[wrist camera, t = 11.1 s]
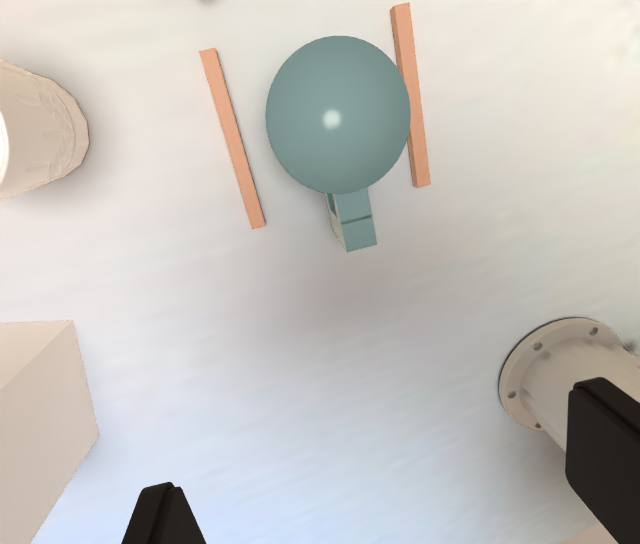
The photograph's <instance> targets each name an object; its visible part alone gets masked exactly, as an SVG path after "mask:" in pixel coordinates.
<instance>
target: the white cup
mask: <svg viewBox="0 0 640 544" xmlns="http://www.w3.org/2000/svg"><path fill="white" fill-rule="evenodd" d="M88 147H89V137H88V127H87V121H86V119H85V117H84V115H83V113H82V112H81V110H80V108H79V106H78V105H77V103H76V101H75V99H74V98H73V97H72V96H71V95H69V94H68V93H67V92H66V91H65V90H63V89H62V88H61V87H60V86H59V85H57V84H56V83H55V82H54V81H53V80H50V79H47V78H44V77H41V76H38V75H35V74H32V73H30V72H28V71H26V70H24V69H22V68H20V67H19V66H16V65H13V64H10V63H8V62H6V61H3V60H0V201H1V200H4V199H7V198H10V197H13V196H16V195H19V194H22V193H25V192H27V191H30V190H32V189H35V188H38V187H40V186H43V185H45V184H47V183H49V182H51V181H53V180H56V179H59V178H63V177H65V176H66V175H68V174H69V173H70V172H72V171H73V170H74V169H76V168H77V167H78V166H80V165H81V164H82V161H83V159H84V156H85V154H86V151H87V149H88Z"/></svg>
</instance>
